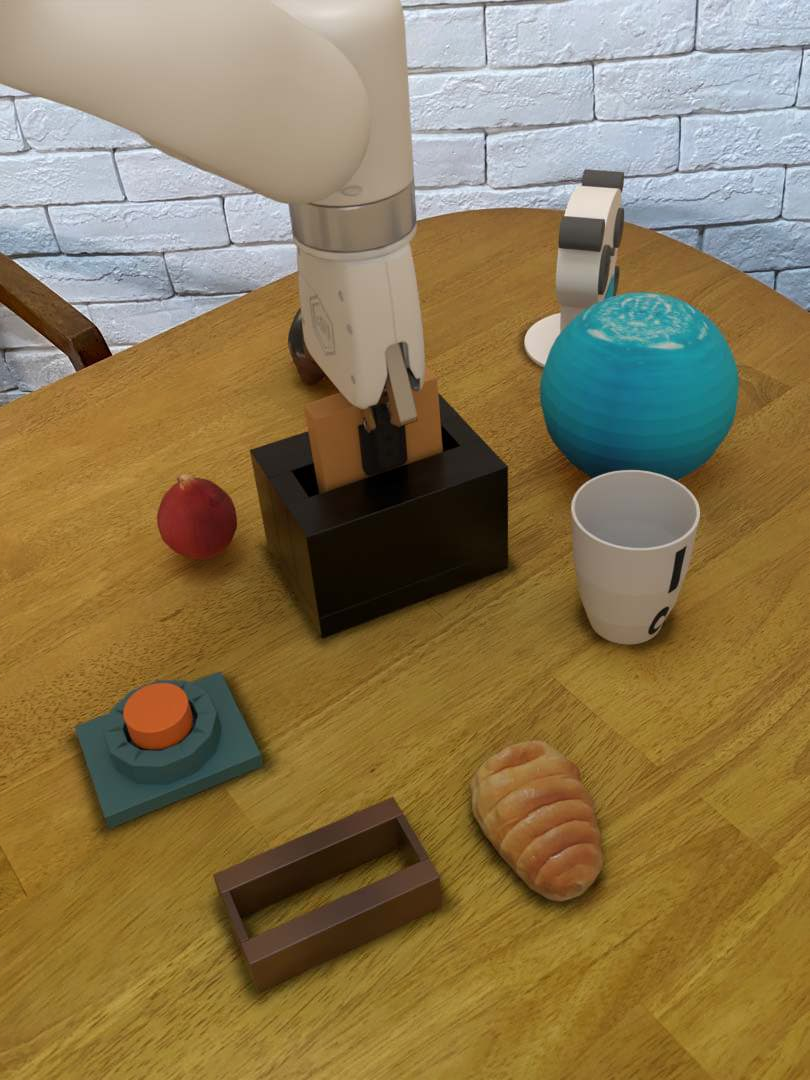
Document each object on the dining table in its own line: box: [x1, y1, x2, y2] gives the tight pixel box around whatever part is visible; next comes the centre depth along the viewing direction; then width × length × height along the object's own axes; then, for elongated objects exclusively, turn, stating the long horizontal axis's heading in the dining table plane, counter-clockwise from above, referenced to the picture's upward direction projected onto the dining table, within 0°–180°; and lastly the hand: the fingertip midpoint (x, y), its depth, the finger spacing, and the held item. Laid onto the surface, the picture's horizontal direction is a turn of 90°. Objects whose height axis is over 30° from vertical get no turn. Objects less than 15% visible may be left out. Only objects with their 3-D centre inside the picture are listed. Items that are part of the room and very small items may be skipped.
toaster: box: [249, 392, 509, 640], centre depth 82 cm, size 15×11×10 cm
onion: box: [156, 473, 238, 561], centre depth 84 cm, size 6×6×8 cm
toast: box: [303, 364, 443, 494], centre depth 79 cm, size 9×2×10 cm, turn 116°
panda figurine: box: [524, 168, 625, 369], centre depth 101 cm, size 12×11×15 cm
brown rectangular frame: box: [213, 796, 443, 993], centre depth 63 cm, size 11×6×3 cm, turn 116°
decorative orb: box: [539, 291, 740, 482], centre depth 87 cm, size 15×15×15 cm
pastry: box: [469, 740, 604, 902], centre depth 65 cm, size 9×7×4 cm
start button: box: [123, 683, 193, 750], centre depth 70 cm, size 4×4×2 cm
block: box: [74, 671, 264, 830], centre depth 72 cm, size 10×8×3 cm
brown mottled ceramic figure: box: [287, 306, 327, 386], centre depth 103 cm, size 10×15×8 cm, turn 172°
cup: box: [570, 470, 701, 645], centre depth 76 cm, size 8×8×10 cm
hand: (376, 455), depth 79 cm, fingers closed on toast, 2 cm apart
